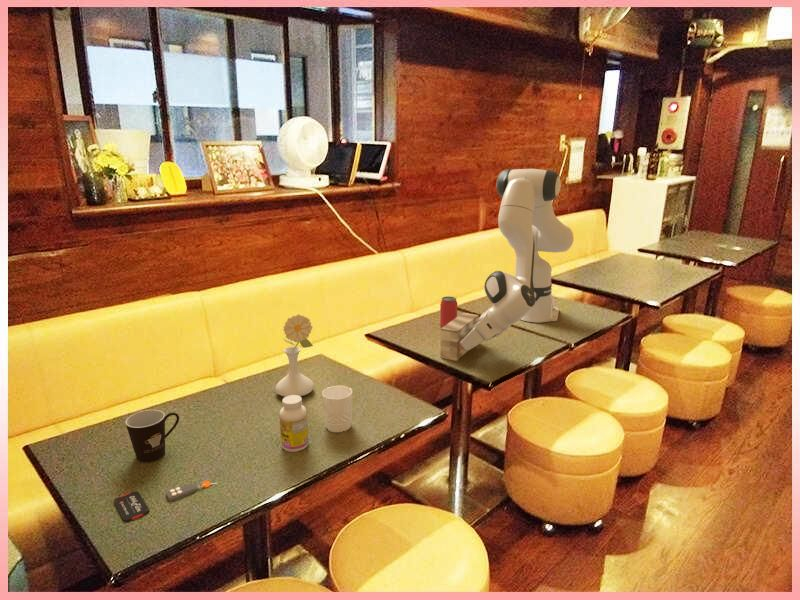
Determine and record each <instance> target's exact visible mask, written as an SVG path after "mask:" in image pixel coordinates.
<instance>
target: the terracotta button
mask: <svg viewBox="0 0 800 600" xmlns="http://www.w3.org/2000/svg"><path fill="white" fill-rule="evenodd" d="M462 340H463V339H460V340H459V341H458V350H462V349H463V347H462V345H461V344H460V342H461V341H462Z"/></svg>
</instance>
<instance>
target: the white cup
mask: <svg viewBox="0 0 800 600" xmlns="http://www.w3.org/2000/svg"><path fill="white" fill-rule="evenodd" d="M321 397H322V408H323V415H324V419H325V420H324V422H325V428H326V430H327V429H328V430H327V431H329V432H331V433H343V431H344V432H346V431H348V430H350V428H351V427H352V417H353V389H352V388H351V387H350V386H346V385H341V384H340V385H331V386H328V387H326V388H324V389H322V392H321Z"/></svg>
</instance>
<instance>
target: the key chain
mask: <svg viewBox="0 0 800 600" xmlns="http://www.w3.org/2000/svg"><path fill="white" fill-rule="evenodd" d="M219 484H220V483H219V481H218V482H216V481H215V482H211V481H210V480H205V481H202V483H201V486H200V485H197V484H193V483H191V484H190V483H189V484H186V485H183V486H180V487H179V486H178V487H175V488H174V489H173V488H172V489H170V490H168V491H165V496H166V499H167V500H168V501H169V502H175V501H176V500H179V499H181V498H185V497H187V496H190V495H192V494H195V493H196V492H197V491H199V489H201V488H205V489H207V488H209V487H211V485H219Z"/></svg>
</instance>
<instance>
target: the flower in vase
mask: <svg viewBox="0 0 800 600" xmlns="http://www.w3.org/2000/svg"><path fill="white" fill-rule="evenodd" d="M312 330H313V325H312V322H311V320H310V318H308V317H307V316H306V315H301V314H300V313H299V314H296V315H292V317H288V318H287V321H285V323H284V326H283V331H284V335H285V338H286V339H285V338H284V337H283V338H282V339H283V341H284V342H286V343H287V344H290V345H292V346H287V347H285V348H283V352H284V353H285V355H286V356H287V359H288V362H289V363H288V365H289V371H288V373H287V375H286V376H284V377H283V378H281V379H280V380H278V382H277V383H276V386H275V389H274V390H275V392H276V393H277V394H278V395H280V396H281V397H283V398H284V397H286V396H289V395H298V396H300V397H303V396H306V395H308V394H310V393H311V392H312V391H313V390H314V389H315V383H314V382H313V381H312V380H311V379H310V378H309V377H307V376H306V375H304V374H302V373H300V371H299V369H298V357H299V354H300V352H301V350H302V348H305V349H306V348H311V347H313V346H314V345H313V344H312V342H311V341H310V340H309V339H308V338H309V336H310V334H311V332H312ZM293 342H294V343H293ZM295 343H296V344H295ZM299 344H300V346H301V347H302V348H301V347H299V346H298V345H299Z"/></svg>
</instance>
